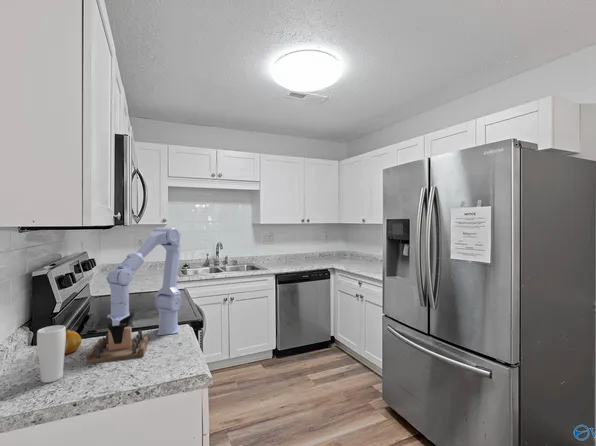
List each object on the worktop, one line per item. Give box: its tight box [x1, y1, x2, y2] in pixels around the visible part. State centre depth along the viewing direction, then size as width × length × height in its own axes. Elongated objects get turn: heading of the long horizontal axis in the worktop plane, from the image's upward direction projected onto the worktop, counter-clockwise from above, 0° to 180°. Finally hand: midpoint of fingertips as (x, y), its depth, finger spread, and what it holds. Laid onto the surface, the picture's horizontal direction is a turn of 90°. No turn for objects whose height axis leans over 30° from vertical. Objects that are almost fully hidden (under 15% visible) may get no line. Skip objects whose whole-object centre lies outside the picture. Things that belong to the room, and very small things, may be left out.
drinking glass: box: [36, 324, 67, 384], centre depth 94 cm, size 7×7×15 cm
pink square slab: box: [107, 326, 133, 350], centre depth 114 cm, size 2×7×7 cm, turn 108°
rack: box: [85, 329, 150, 365], centre depth 114 cm, size 16×17×5 cm
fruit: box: [65, 329, 82, 355], centre depth 114 cm, size 8×8×8 cm
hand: (120, 339), depth 114 cm, fingers open, 7 cm apart
